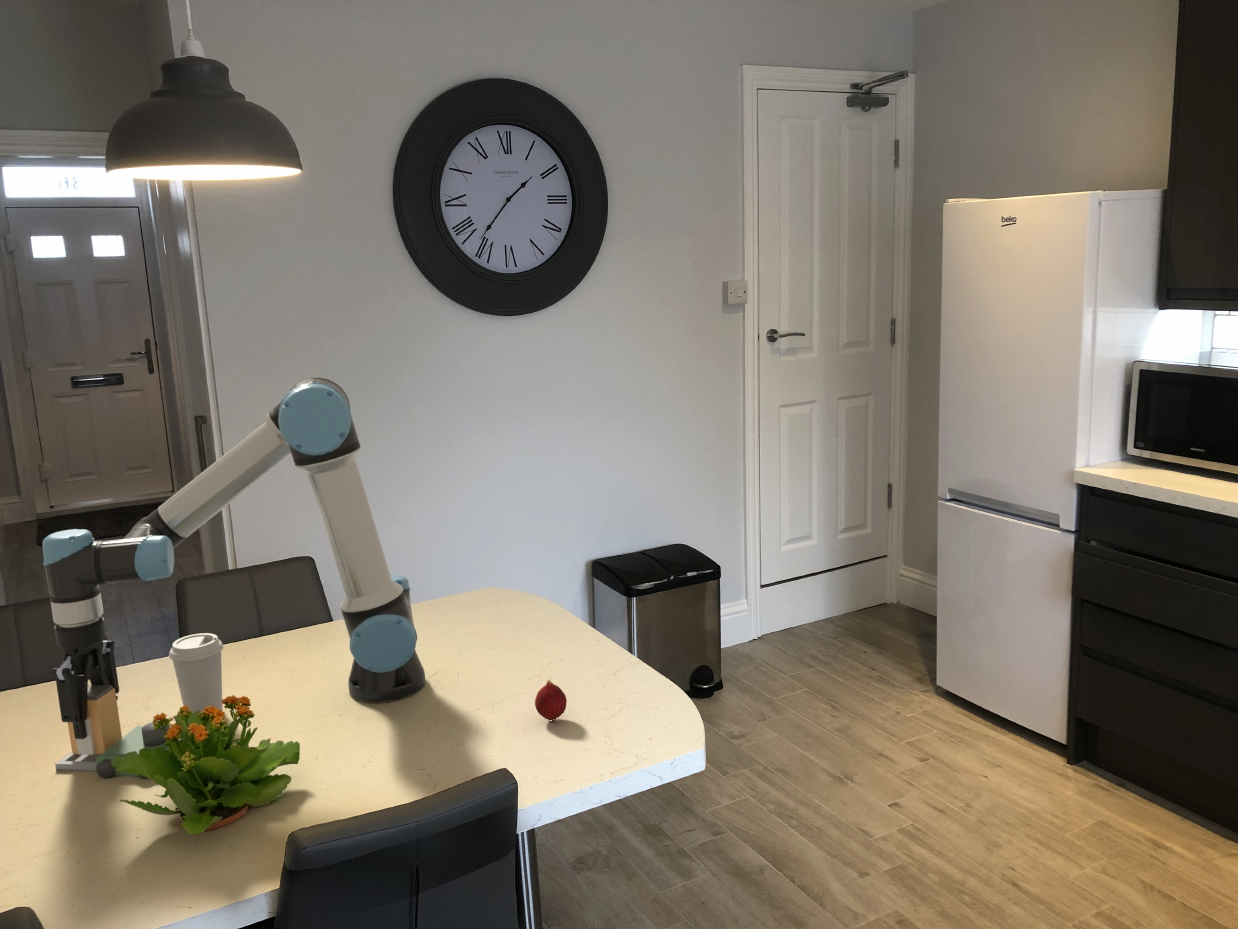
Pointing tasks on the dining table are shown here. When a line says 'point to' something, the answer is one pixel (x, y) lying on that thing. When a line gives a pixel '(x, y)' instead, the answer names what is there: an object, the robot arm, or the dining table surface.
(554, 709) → the onion
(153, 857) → the dining table surface
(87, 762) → the wheeled tray
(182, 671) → the coffee cup
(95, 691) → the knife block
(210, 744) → the potted flower
